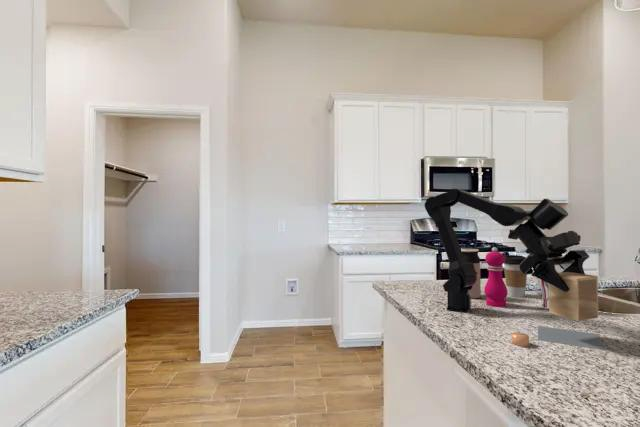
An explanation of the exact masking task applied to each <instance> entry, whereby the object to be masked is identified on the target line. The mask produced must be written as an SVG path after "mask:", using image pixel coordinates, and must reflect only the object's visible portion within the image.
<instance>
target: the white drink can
mask: <svg viewBox="0 0 640 427" xmlns="http://www.w3.org/2000/svg"><path fill="white" fill-rule="evenodd" d="M555 270H556V271H557V272H558V273H560V272H563V271H564V269H562V268H561V267H560V266H559V265H555ZM538 282H539V288H540V292H541V302H540V308H542V309H544V310H548V309H549V283H547V282H545V281H543V280H541V279H539V278H538Z"/></svg>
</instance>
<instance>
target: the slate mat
mask: <svg viewBox="0 0 640 427" xmlns="http://www.w3.org/2000/svg"><path fill="white" fill-rule="evenodd" d="M537 327H538V328H537V341H544V342H549V343H556V344H562V345H567V346H568V345H569V346H572V347H573V346H574V347H581V348H587V349H594V350H600V351H607V349H606V347H605V345H604V343H603V340H602V338H601V336H600V334H599V333H593V332H585V331H580V330H571V329H563V328H557V327H550V326H543V325H542V326H541V325H538V326H537Z"/></svg>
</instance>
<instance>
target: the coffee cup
mask: <svg viewBox="0 0 640 427" xmlns="http://www.w3.org/2000/svg"><path fill="white" fill-rule="evenodd" d="M526 257H527V256H523V255H520V254H508V255H504V258H505V262H504V263H503V264H504V265H503V271H504V278H505V285H506V288H507V292H508V295H507V296H509V297H514V298H524V297H525V296H526V289H527V288H526V287H527V279H528V278H527V275H524V274H523V273H522V272H521V270H520V268H519V264H520V263H521V262H522V261H523V260H524V259H525V258H526Z"/></svg>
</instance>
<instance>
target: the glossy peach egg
mask: <svg viewBox="0 0 640 427" xmlns="http://www.w3.org/2000/svg"><path fill="white" fill-rule="evenodd" d="M511 344H512V345H514V346H516V347H521V348H527V347H530V336H529V335H528V334H526V333H525V332H519V331H518V332H517V331H516V332H515V331H514V332H512V333H511Z"/></svg>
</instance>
